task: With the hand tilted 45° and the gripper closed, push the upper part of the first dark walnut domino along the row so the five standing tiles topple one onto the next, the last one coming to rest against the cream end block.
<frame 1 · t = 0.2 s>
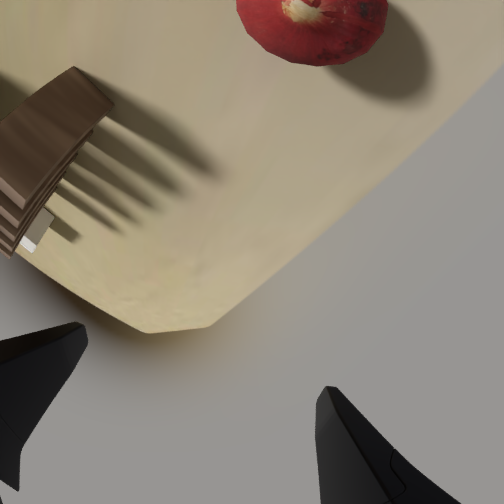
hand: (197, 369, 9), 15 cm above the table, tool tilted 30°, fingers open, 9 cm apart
domino 2: (71, 119, 19), on the table
domino 3: (58, 142, 21), on the table
end block: (30, 204, 31), on the table
domino 5: (41, 177, 26), on the table
domino 4: (48, 161, 23), on the table
domino 1: (89, 90, 16), on the table
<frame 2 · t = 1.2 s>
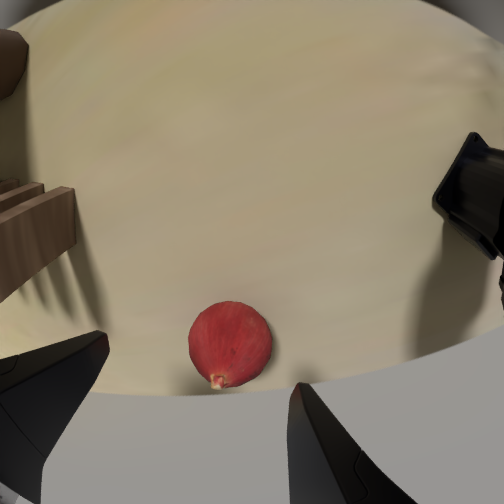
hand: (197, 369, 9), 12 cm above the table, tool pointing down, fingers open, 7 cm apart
domino 2: (39, 208, 21), on the table
domino 3: (15, 203, 21), on the table
beer bottle: (9, 67, 15), on the table
onion: (238, 310, 23), on the table
domino 1: (68, 215, 21), on the table
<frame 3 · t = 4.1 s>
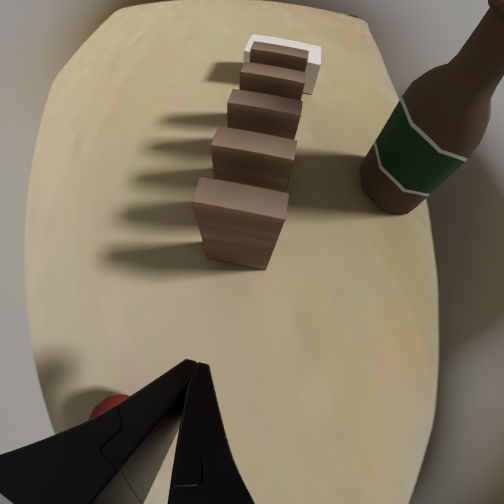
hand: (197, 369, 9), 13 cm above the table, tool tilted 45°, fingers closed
domino 2: (247, 213, 26), on the table
domino 3: (255, 177, 27), on the table
beer bottle: (388, 186, 28), on the table
end block: (279, 76, 33), on the table
onion: (142, 421, 20), on the table
domino 5: (269, 121, 30), on the table
domino 4: (262, 147, 28), on the table
domino 1: (238, 255, 25), on the table
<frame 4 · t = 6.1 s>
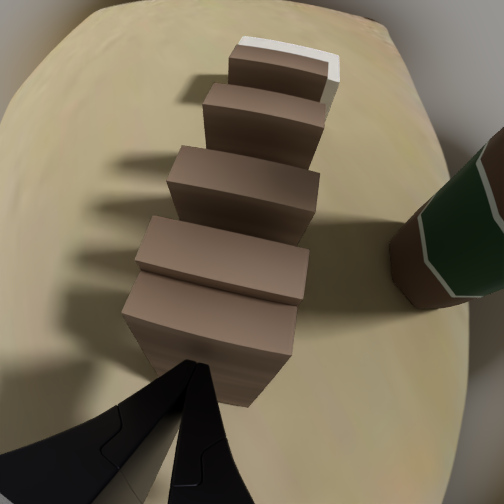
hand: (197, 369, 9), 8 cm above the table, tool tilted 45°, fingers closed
domino 2: (223, 325, 17), on the table, tilted 6°
domino 3: (238, 265, 19), on the table
beer bottle: (423, 265, 20), on the table
end block: (280, 95, 25), on the table
domino 5: (262, 167, 21), on the table
domino 4: (251, 211, 20), on the table
domino 1: (209, 386, 16), on the table, tilted 20°
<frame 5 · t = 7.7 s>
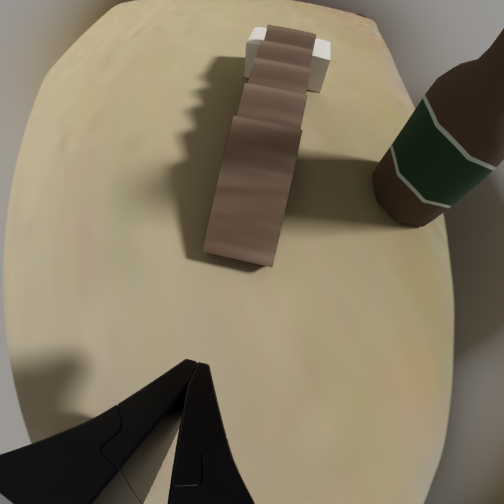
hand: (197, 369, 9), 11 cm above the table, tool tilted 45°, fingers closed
domino 2: (249, 208, 22), point 1 cm above the table, tilted 61°, touching domino 1, domino 3
domino 3: (259, 169, 24), point 1 cm above the table, tilted 58°, touching domino 2, domino 4
beer bottle: (402, 195, 25), on the table
end block: (284, 73, 30), on the table
domino 5: (273, 115, 26), point 1 cm above the table, tilted 51°, touching domino 4, end block
domino 4: (266, 140, 25), point 1 cm above the table, tilted 55°, touching domino 3, domino 5
domino 1: (238, 257, 21), point 1 cm above the table, tilted 63°, touching domino 2
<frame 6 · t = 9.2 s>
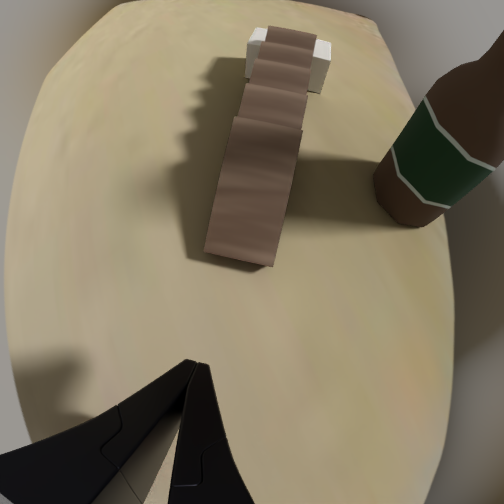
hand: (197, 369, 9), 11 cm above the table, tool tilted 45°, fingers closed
domino 2: (250, 208, 22), point 1 cm above the table, tilted 61°, touching domino 1, domino 3
domino 3: (259, 169, 24), point 1 cm above the table, tilted 57°, touching domino 2, domino 4
beer bottle: (403, 195, 25), on the table
end block: (285, 74, 30), on the table
domino 5: (274, 115, 26), point 1 cm above the table, tilted 51°, touching domino 4, end block
domino 4: (267, 140, 25), point 1 cm above the table, tilted 55°, touching domino 3, domino 5
domino 1: (238, 257, 21), point 1 cm above the table, tilted 63°, touching domino 2
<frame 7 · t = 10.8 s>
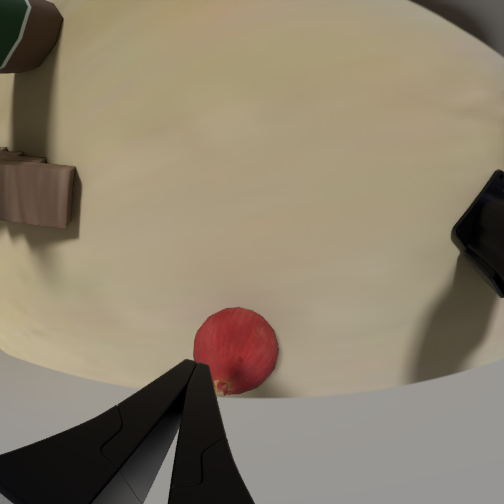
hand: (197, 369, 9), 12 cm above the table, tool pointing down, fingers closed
domino 2: (41, 186, 20), point 1 cm above the table, tilted 61°, touching domino 1, domino 3
domino 3: (19, 178, 20), point 1 cm above the table, tilted 57°, touching domino 2, domino 4
beer bottle: (39, 38, 15), on the table
onion: (245, 317, 23), on the table
domino 4: (3, 171, 20), point 1 cm above the table, tilted 55°, touching domino 3, domino 5
domino 1: (69, 197, 20), point 1 cm above the table, tilted 63°, touching domino 2
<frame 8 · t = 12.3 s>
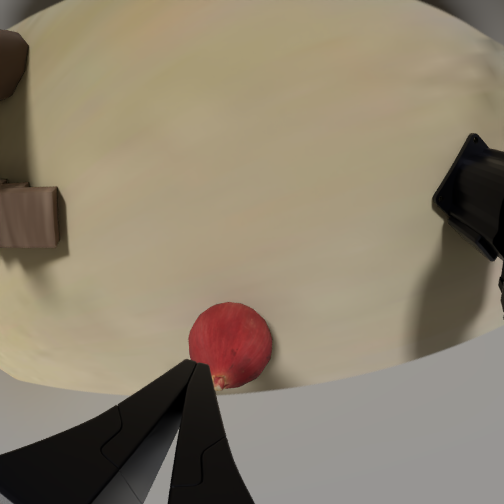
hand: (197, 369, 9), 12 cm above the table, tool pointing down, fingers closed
domino 2: (27, 210, 20), point 1 cm above the table, tilted 61°, touching domino 1, domino 3
beer bottle: (9, 67, 15), on the table
onion: (238, 311, 23), on the table
domino 1: (55, 217, 20), point 1 cm above the table, tilted 63°, touching domino 2
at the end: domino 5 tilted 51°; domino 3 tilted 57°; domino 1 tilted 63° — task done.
